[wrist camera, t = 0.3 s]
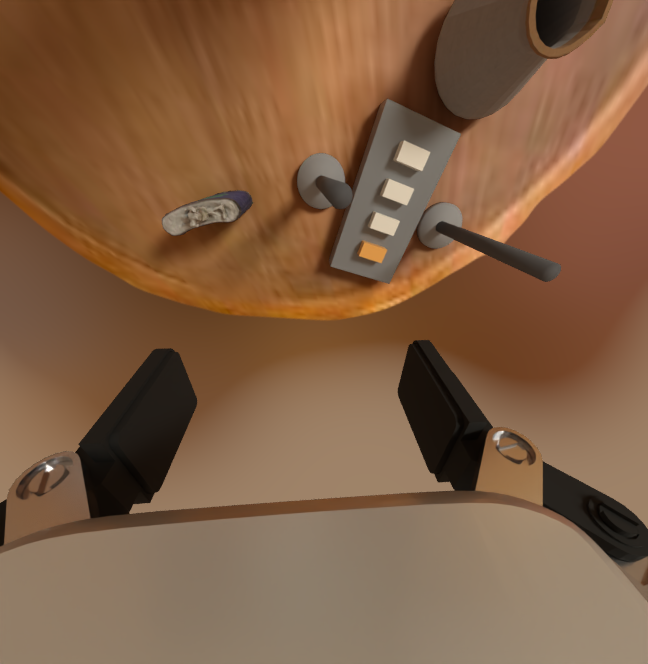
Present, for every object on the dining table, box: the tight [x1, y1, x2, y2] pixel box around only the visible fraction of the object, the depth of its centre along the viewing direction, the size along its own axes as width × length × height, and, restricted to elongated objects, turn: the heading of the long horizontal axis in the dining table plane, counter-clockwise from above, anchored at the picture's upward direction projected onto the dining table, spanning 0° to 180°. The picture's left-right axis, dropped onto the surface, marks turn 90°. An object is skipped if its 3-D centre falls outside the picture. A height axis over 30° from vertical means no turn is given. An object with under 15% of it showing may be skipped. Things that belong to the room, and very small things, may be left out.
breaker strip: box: [329, 99, 461, 284], centre depth 35 cm, size 20×10×4 cm, turn 162°
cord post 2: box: [417, 202, 561, 282], centre depth 30 cm, size 6×6×21 cm
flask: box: [162, 190, 253, 236], centre depth 31 cm, size 9×3×11 cm, turn 103°
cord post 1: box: [297, 153, 353, 209], centre depth 26 cm, size 6×6×21 cm
